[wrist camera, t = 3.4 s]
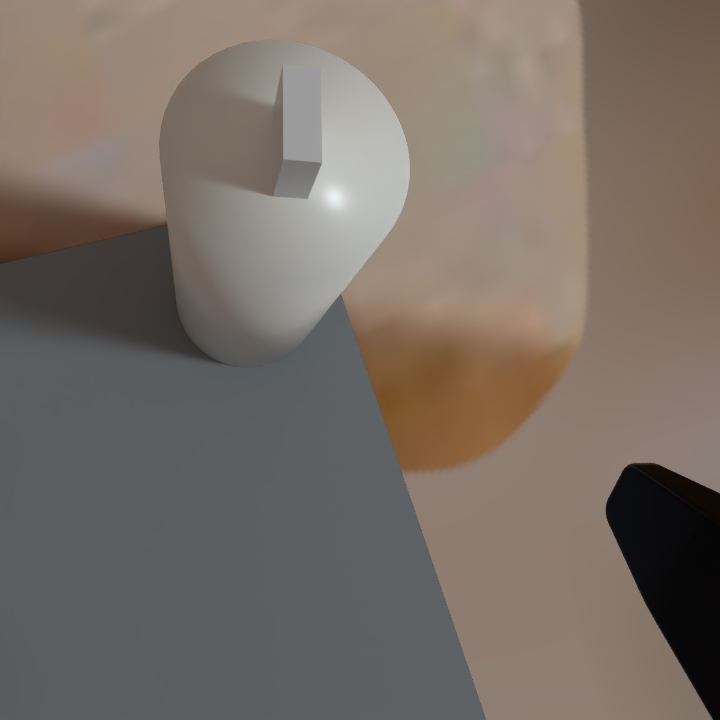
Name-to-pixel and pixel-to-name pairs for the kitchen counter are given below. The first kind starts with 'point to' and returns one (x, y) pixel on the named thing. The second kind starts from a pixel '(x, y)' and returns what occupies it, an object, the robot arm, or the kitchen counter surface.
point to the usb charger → (274, 193)
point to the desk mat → (201, 516)
